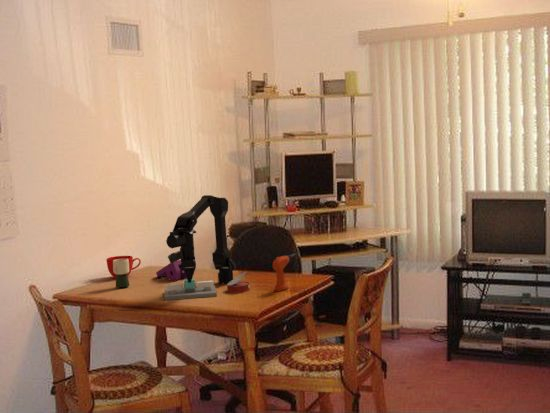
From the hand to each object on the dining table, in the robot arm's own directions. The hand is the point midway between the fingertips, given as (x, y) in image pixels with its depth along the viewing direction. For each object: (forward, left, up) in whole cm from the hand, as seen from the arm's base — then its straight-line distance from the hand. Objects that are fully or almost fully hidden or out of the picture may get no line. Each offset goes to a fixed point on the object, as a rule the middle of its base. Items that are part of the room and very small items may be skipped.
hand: (189, 280), depth 311 cm
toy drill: (-42, +1, -6) cm, 43 cm away
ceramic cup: (+32, -56, -6) cm, 65 cm away
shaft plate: (0, 0, -6) cm, 6 cm away
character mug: (+31, -28, -6) cm, 42 cm away
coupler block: (0, 0, -5) cm, 5 cm away
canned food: (-21, -1, -6) cm, 22 cm away
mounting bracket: (+8, -43, -7) cm, 45 cm away
